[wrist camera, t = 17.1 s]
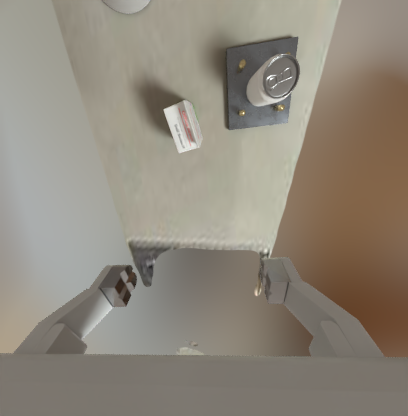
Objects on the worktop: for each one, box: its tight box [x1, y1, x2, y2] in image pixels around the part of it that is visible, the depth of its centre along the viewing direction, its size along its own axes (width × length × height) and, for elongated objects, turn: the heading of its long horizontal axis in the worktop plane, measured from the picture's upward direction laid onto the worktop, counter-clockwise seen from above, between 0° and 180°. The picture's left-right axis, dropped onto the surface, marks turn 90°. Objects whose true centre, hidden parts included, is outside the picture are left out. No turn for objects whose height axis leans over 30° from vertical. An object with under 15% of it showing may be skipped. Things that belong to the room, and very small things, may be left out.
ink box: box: [163, 100, 203, 153], centre depth 35 cm, size 9×5×15 cm, turn 17°
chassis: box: [226, 37, 298, 130], centre depth 35 cm, size 15×14×4 cm
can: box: [246, 54, 300, 106], centre depth 30 cm, size 6×6×12 cm
